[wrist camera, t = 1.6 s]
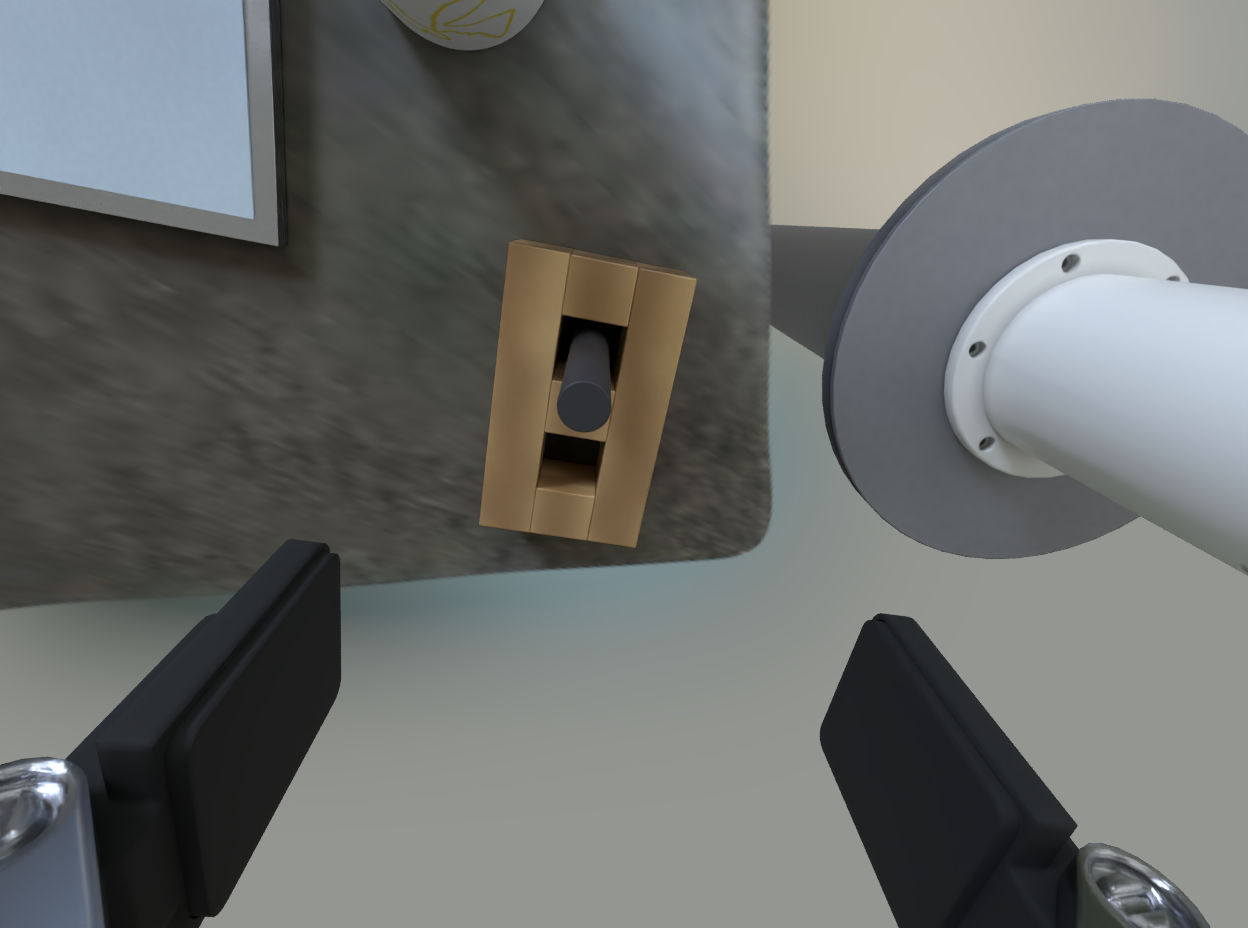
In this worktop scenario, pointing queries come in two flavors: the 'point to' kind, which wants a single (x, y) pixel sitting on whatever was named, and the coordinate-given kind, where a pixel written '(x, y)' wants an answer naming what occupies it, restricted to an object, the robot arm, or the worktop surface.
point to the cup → (465, 20)
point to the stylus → (586, 381)
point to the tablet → (147, 111)
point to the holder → (532, 379)
